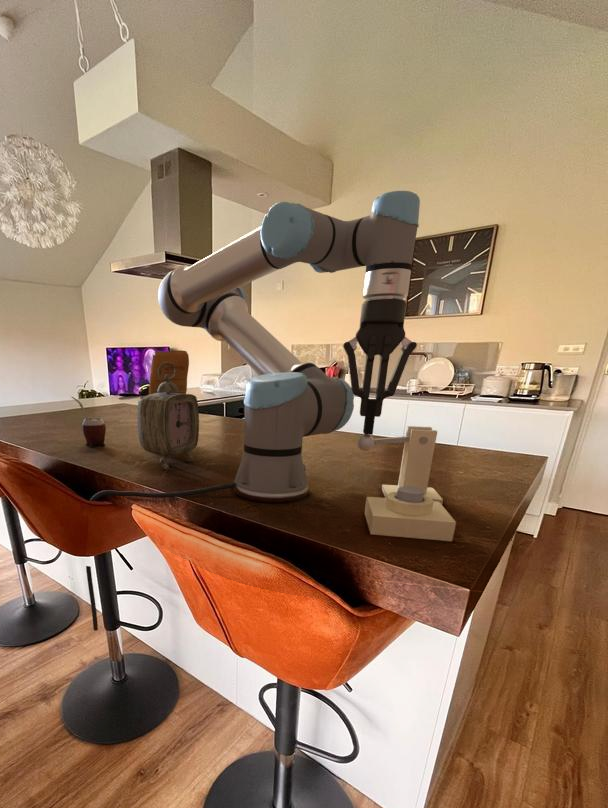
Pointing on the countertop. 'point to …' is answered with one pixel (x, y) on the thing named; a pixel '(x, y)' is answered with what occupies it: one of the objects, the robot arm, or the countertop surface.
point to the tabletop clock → (168, 420)
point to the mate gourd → (93, 429)
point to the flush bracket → (417, 462)
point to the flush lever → (378, 441)
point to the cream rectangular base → (409, 518)
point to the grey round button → (410, 494)
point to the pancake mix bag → (169, 370)
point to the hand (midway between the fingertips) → (367, 433)
